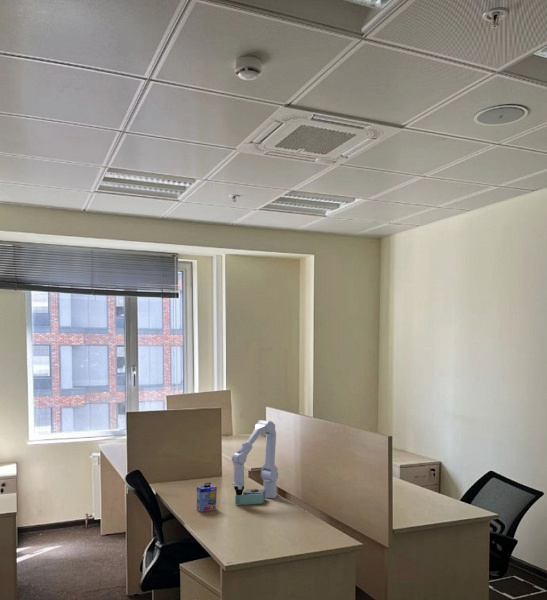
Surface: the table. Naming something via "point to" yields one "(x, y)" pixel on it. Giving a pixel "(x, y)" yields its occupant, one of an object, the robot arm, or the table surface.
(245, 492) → the block
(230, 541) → the table surface
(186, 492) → the table surface
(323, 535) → the table surface
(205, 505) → the ink cartridge box
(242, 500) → the door
